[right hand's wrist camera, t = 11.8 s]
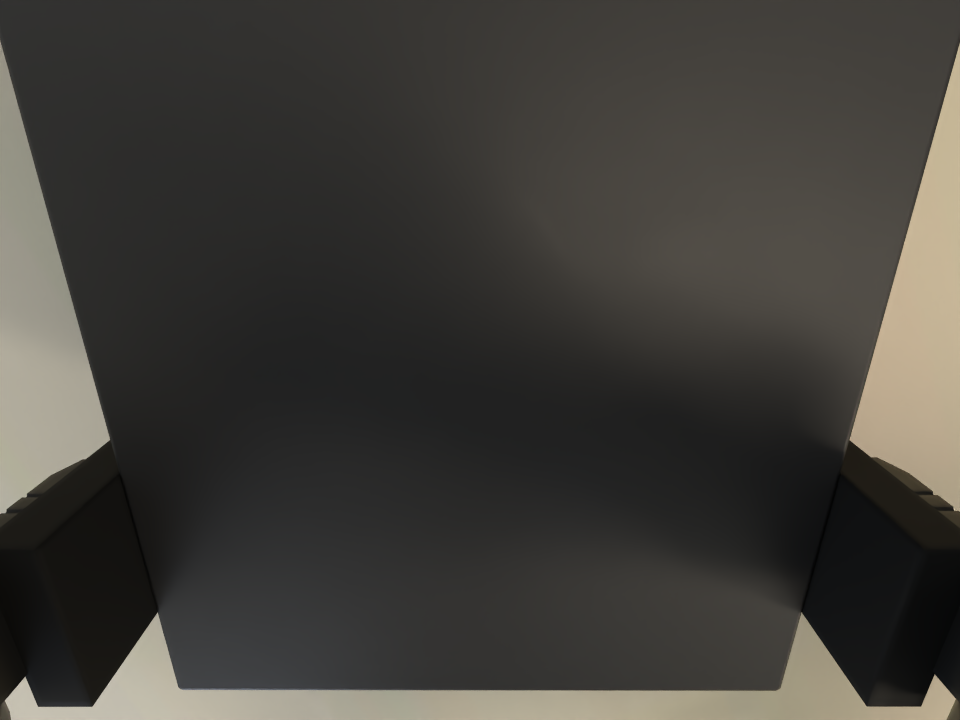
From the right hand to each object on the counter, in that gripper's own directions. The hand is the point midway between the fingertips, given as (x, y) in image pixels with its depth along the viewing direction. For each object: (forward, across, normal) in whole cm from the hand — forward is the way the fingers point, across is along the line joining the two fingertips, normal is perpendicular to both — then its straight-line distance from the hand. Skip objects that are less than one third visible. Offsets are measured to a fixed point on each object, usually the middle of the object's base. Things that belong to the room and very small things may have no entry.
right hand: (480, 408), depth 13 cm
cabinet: (+4, 0, -6) cm, 7 cm away
